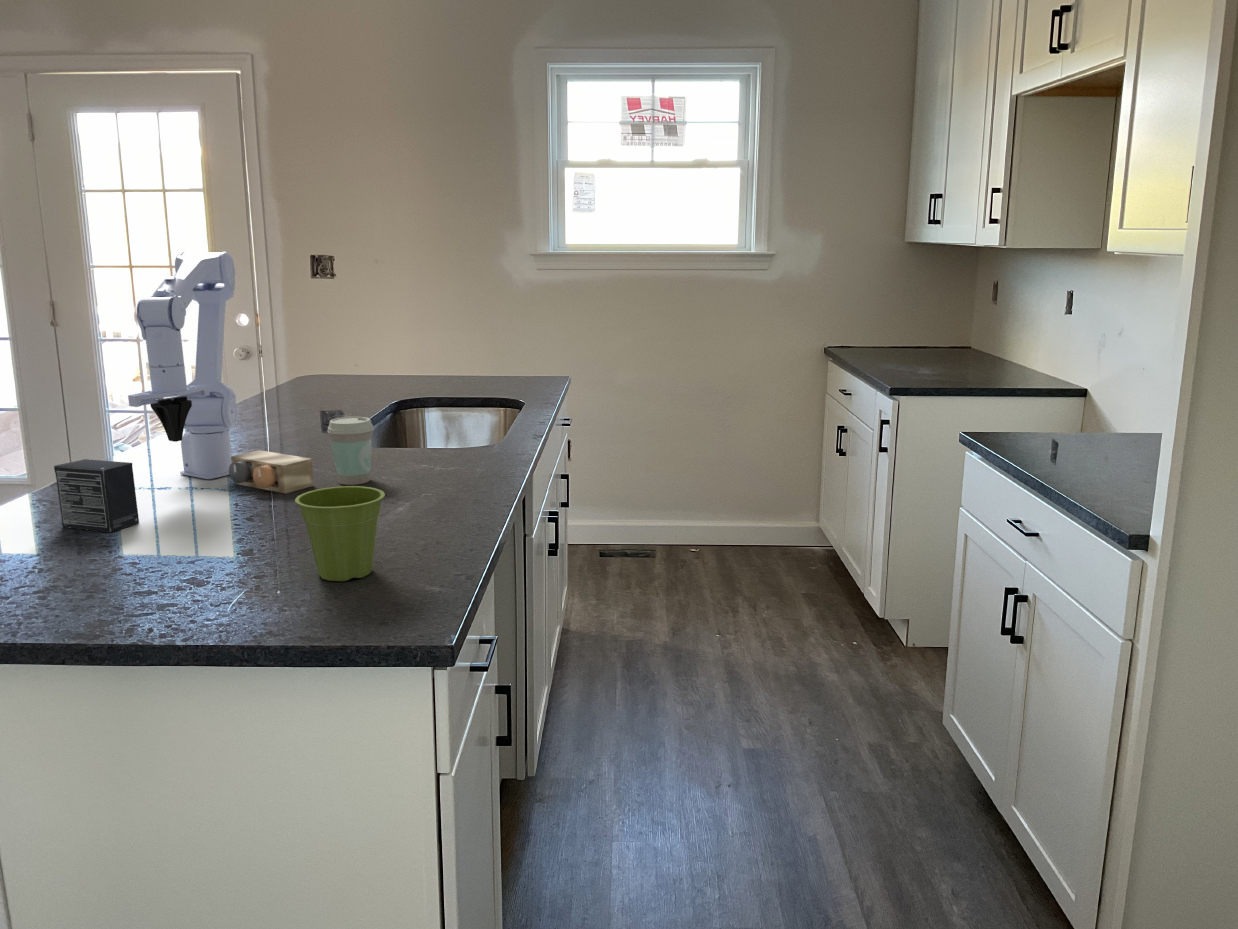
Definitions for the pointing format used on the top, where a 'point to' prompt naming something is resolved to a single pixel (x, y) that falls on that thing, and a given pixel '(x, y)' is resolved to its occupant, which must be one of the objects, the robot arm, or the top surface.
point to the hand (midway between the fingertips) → (175, 440)
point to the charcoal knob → (240, 471)
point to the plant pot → (342, 529)
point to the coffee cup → (351, 448)
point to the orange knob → (265, 476)
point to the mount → (280, 470)
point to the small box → (97, 495)
